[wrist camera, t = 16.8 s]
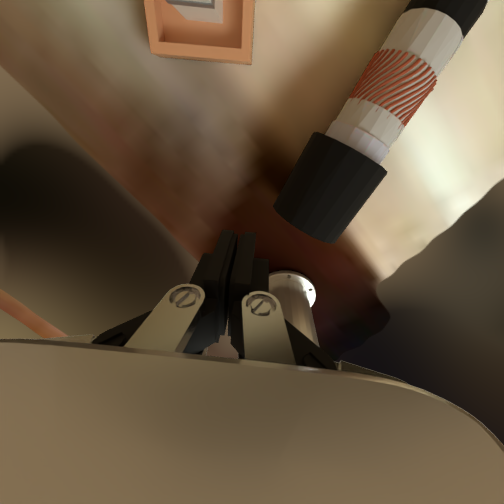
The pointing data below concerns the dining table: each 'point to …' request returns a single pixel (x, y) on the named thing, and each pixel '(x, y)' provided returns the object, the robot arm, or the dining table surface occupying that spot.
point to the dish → (202, 33)
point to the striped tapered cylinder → (373, 118)
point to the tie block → (200, 9)
